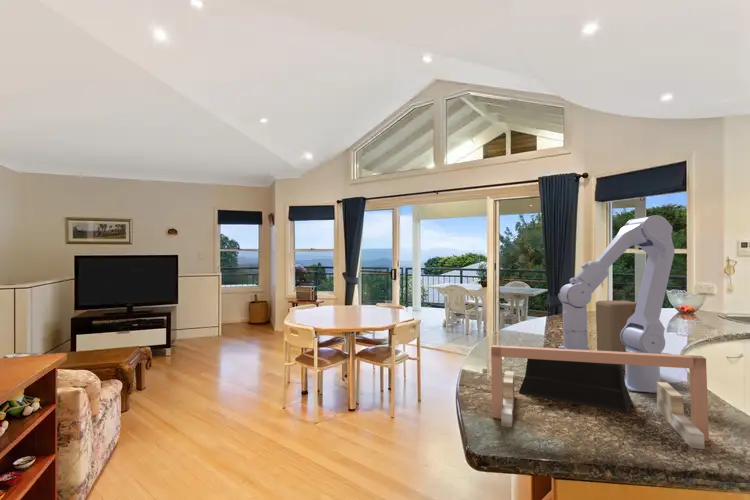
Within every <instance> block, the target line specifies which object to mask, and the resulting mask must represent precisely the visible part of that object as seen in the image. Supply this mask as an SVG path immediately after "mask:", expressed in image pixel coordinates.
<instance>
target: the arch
mask: <svg viewBox="0 0 750 500" xmlns="http://www.w3.org/2000/svg"><path fill="white" fill-rule="evenodd" d="M490 352H491V353H490V355H491V356H490V357H491V360H490V361H491V363H490V364H491V392H492V393H491V394H492V395H491V396H492V397H491V398H492V399H491V400H492V404H491V406H492V418H493V419H500V420H501V412H502V405H503V399H504V392H503V364H502V363H503V361H502V358H516V359H544V360H560V361H577V362H593V363H610V364H626V365H642V366H659V367H660V368H661V367H663V368H678V369H679V368H680V369H688V370H689V391H690V392H689V393H690V395H689V396H690V417H691V419H690V421H691V422H692V423H693V424H694V425H695V426H696V427H697V428H698V429H699V430H700V431H701V432H702V433H703V434H704V442H710V433H709V432H710V430H709V429H710V427H709V406H708V405H709V404H708V402H709V401H708V399H709V398H708V375H707V371H708V370H707V358H706V357H704V356H703V355H690V354H689V355H688V354H687V355H686V354H674V353H673V354H672V353H671V354H670V353H660V354H654V353H635V352H615V351H597V349H596V350H595V349H593V350H592V349H591V350H590V349H589V350H577V349H559V347H558V348H555V347H537V346H536V347H535V346H518V345H517V346H516V345H515V346H514V345H497V344H495V345H494V344H492V345H490Z"/></svg>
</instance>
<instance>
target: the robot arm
mask: <svg viewBox="0 0 750 500" xmlns="http://www.w3.org/2000/svg"><path fill="white" fill-rule="evenodd" d="M672 233H673V225H671V223H670V222H669V221H668V220H667V219H666V218H665V217H664V216H662V215H660V214H659V215H658V214H654V215H650V216H646V217H640V218H632V219H629V220H628V221H627V222H626V223H625V225H623V226H622V227H621V228H619V231H618V232H617V234H616V235H615V236H614V238H613V239H612V240H611V242H610V243H609V244H608V245H607V247H605V249H604V250H603V252H601V254H600V255H599V256H598V258H597V259H596V260H590V261H588V262H583V263H582V264H581V266H580V267H581V269H580V270H579V271H578V273H577V274H576V275H575V276H574V277H571V278H570V279H569V282H570V283H567V284H565V285H562V286H561V288H560V289H559V293H557V297H558V299H559V301H560V303H561V305H562V335H563V336H562V338H563V341H562V343H563V345H559V346H558V349H577V350H590V348H589V343H588V342H589V341H588V340H589V337H588V333H589V332H588V308H587V307H588V304H589V303H591V300H592V294H593V293H594V291H596V290H597V289H598V287H599V286H600V285H601V284H602V283H603V282H604V281H605V280H606V278H607V277H608V276H609V268H610V267H611V266H612V265H613V264H614V263H615V262H616V261H617V260H619V258H620V257H621V256H622V255H623V254H624V253H625V252H626V251H627V250H628V249H629V248H630V247H633V246H638V247H639V248H641V249H642V251H643V252H644V253H645V254H646V255H647V257H646V262H645V267H644V270H643V275H642V280H641V284H640V288H639V293H638V297H637V300H636V301H637V305H636V309H635V313H634V314H633V315H632V316H631V317H630V318H628V320H627V324H626V326H625V327H624V328H623V329H622V331H621V333H620V339H621V341H622V343H623V344H624V345H625V346H626V352H635V353H654V354H662V352H663V351H664V349H665V347H666V339H665V330H666V329H665V326H664V325H663V323H662V321H661V319H660V317H661V314H662V313H661V312H662V308H663V305H664V300H665V295H666V292H667V291H666V290H667V287H668V283H669V280H670V279H669V278H670V275H671V274H670V273H671V271H672V266H673V261H674V256H675V247H674V246H675V245H674V242H673V238H672ZM660 368H661V367H659V366H642V365H626V364H625V372H624V373H625V374H624V377H625V378H624V379H625V385H626V388H627V390H628V391H629V392H638V393H639V392H641V393H653V394H654V393H655V394H657V383H656V382H661V372H660V371H661V369H660Z"/></svg>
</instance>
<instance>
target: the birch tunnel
mask: <svg viewBox="0 0 750 500" xmlns="http://www.w3.org/2000/svg"><path fill="white" fill-rule="evenodd" d="M503 377H504V378H503V380H502V390H503V405H502V412H501V419H500V420H501V421H500V423H501V424H500V425H501V427H507V428H512V427H513V420H514V419H513V418H514V405H515V397H516V395H515V371H511V370H510V371H509V370H505V372H504V376H503ZM656 383H657V393H656V405H657V406H656V408H657V410H658V412H659V413H660V414H661V415H662V417H663V418H665V420H666V421H667V422H668V423H669V424H670V425H671V427H672V429H674V430H675V432H677V434H678V435H679V436H680V437H681V438H682V439H683V440H684V442H685V443H686V444H687V445H688V446H689V448H691V449H701V450H705V441H704V434H703V433H702V432H701V431H700V430H699V429H698V428H697V427H696V426H695V425H694V424H693V423H692V422H691V419H689V418H688V417H687V416H686V415H685V414H684V413H685V412H684V410H685V409H684V407H685V406H684V395H682V394H681V393H679V392H678V391H677V390H676V389H675V388H674V387H673V386H671V384H669V382H667V381H666V382H664V381H660V382H656Z"/></svg>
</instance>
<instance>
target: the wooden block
mask: <svg viewBox="0 0 750 500" xmlns="http://www.w3.org/2000/svg"><path fill="white" fill-rule="evenodd" d="M636 305H637V302H636V301H631V300H598V301H596V302H595V323H596V324H595V325H596V328H595V329H596V330H595V332H596V351H615V352H626V346H625V345H624V344H623V343H622V341H621V339H620V333H621V331H622V329H623V328H624V327H625V326H626V324H627V320H628V318H630V317H631V316H632V315H633V314H634V313H635V309H636ZM622 368H623V372H624V371H625V364H622Z"/></svg>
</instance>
